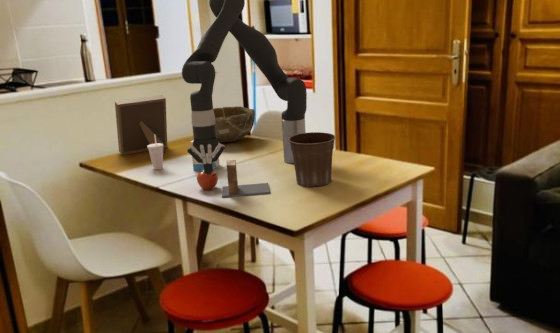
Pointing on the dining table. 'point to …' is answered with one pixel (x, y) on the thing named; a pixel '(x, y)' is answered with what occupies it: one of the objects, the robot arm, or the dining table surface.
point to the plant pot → (312, 158)
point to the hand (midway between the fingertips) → (208, 173)
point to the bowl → (233, 123)
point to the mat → (247, 190)
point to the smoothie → (156, 154)
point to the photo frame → (141, 123)
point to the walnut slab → (232, 177)
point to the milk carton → (200, 165)
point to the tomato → (207, 180)
